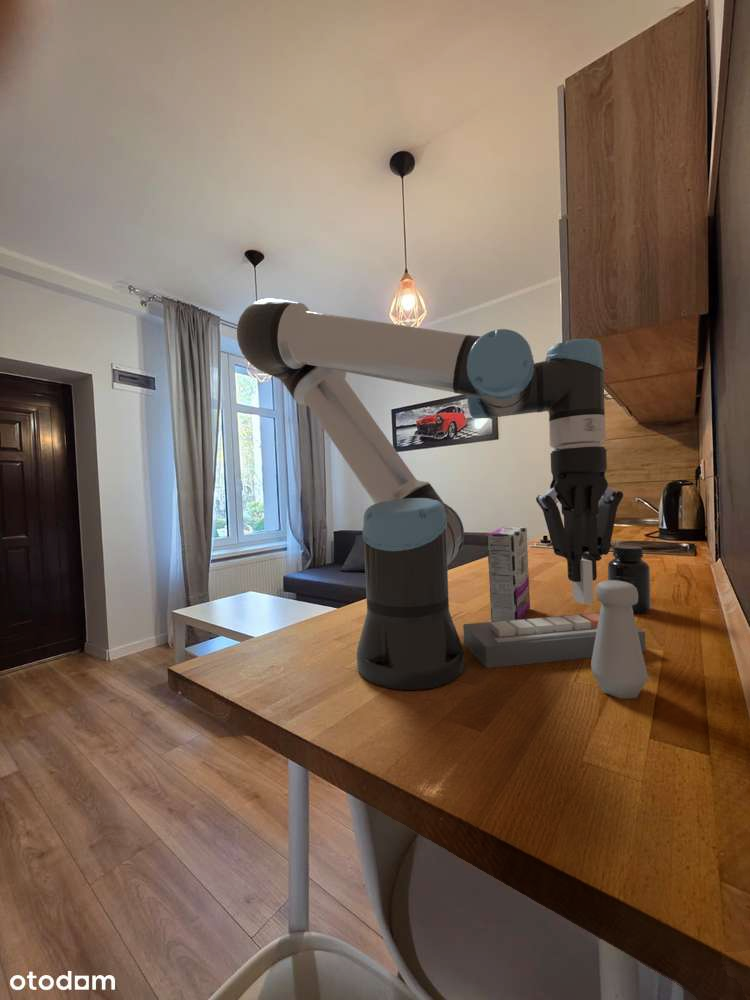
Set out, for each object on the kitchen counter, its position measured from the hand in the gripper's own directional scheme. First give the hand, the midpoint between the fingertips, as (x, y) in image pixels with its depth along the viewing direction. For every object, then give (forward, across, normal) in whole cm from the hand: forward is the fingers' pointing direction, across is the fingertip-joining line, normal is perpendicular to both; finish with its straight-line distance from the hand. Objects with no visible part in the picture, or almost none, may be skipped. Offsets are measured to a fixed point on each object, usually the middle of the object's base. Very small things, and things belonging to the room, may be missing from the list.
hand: (583, 601), depth 60 cm
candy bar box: (+7, -5, +15) cm, 17 cm away
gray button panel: (+7, -6, 0) cm, 9 cm away
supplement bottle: (+7, +18, +13) cm, 24 cm away
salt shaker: (+7, -4, -13) cm, 15 cm away
